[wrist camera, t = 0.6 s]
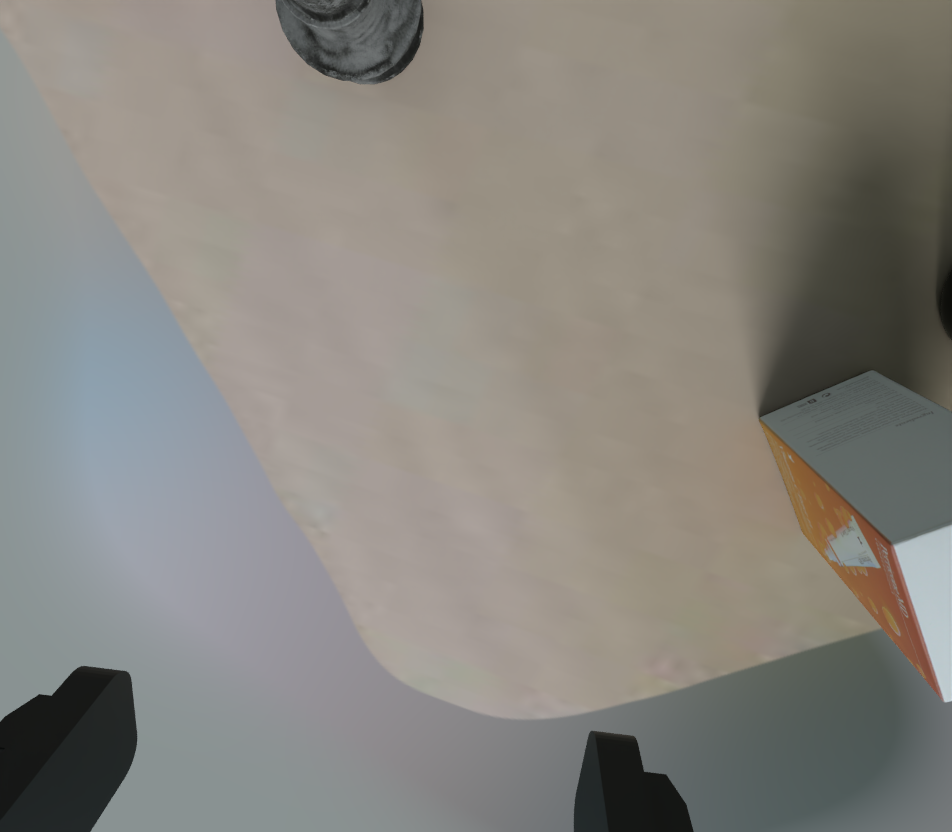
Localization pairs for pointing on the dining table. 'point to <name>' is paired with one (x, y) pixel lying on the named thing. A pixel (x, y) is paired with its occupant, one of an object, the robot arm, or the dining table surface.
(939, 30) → the dining table surface
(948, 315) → the supplement bottle
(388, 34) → the dark grey chess piece
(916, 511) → the small box
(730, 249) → the dining table surface
